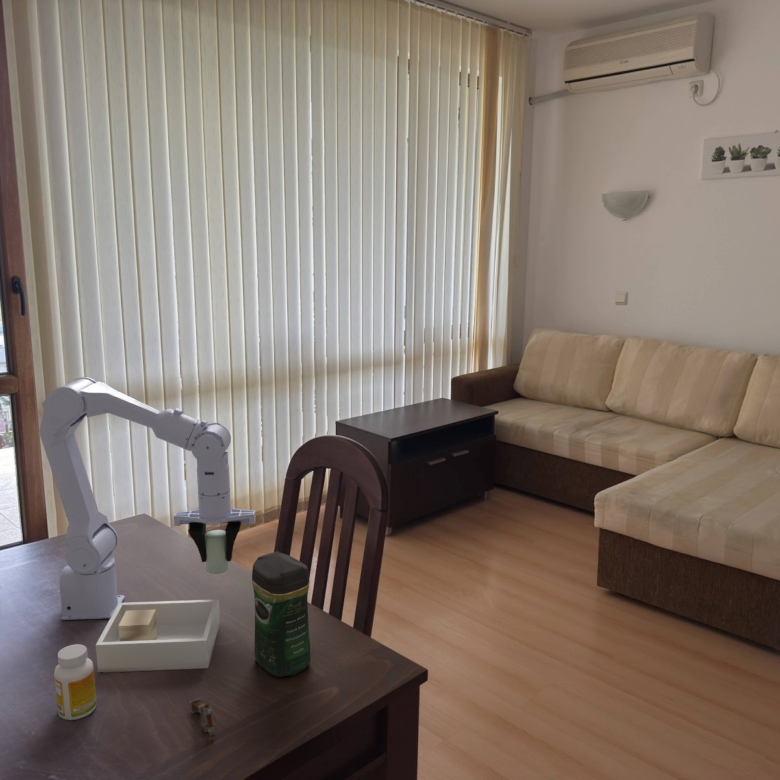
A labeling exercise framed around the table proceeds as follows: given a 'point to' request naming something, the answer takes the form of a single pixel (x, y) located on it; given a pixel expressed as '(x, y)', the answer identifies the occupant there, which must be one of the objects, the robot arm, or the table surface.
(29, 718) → the table surface
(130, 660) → the tote
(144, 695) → the table surface
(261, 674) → the table surface
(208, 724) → the wooden post with brackets
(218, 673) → the table surface
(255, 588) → the coffee jar
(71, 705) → the supplement bottle
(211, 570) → the sage cylinder
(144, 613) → the maple cube
